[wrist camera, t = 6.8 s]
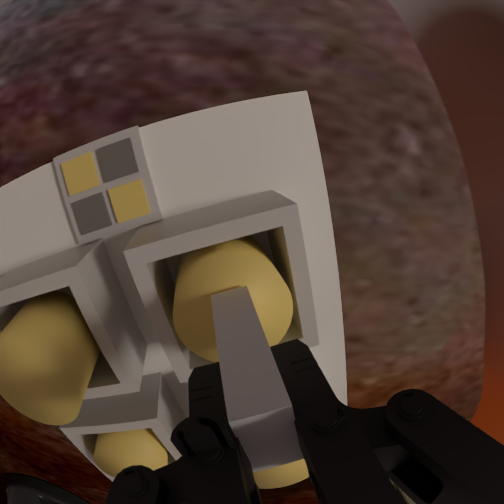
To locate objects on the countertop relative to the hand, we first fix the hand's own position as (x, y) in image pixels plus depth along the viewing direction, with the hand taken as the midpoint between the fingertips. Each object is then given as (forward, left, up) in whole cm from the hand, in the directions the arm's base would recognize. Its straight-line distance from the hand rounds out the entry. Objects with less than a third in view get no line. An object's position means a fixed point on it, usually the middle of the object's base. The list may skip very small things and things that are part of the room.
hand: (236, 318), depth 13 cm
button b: (-10, 0, -3) cm, 11 cm away
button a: (-10, -10, -5) cm, 15 cm away
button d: (0, 0, -5) cm, 5 cm away
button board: (-5, -5, -6) cm, 9 cm away
